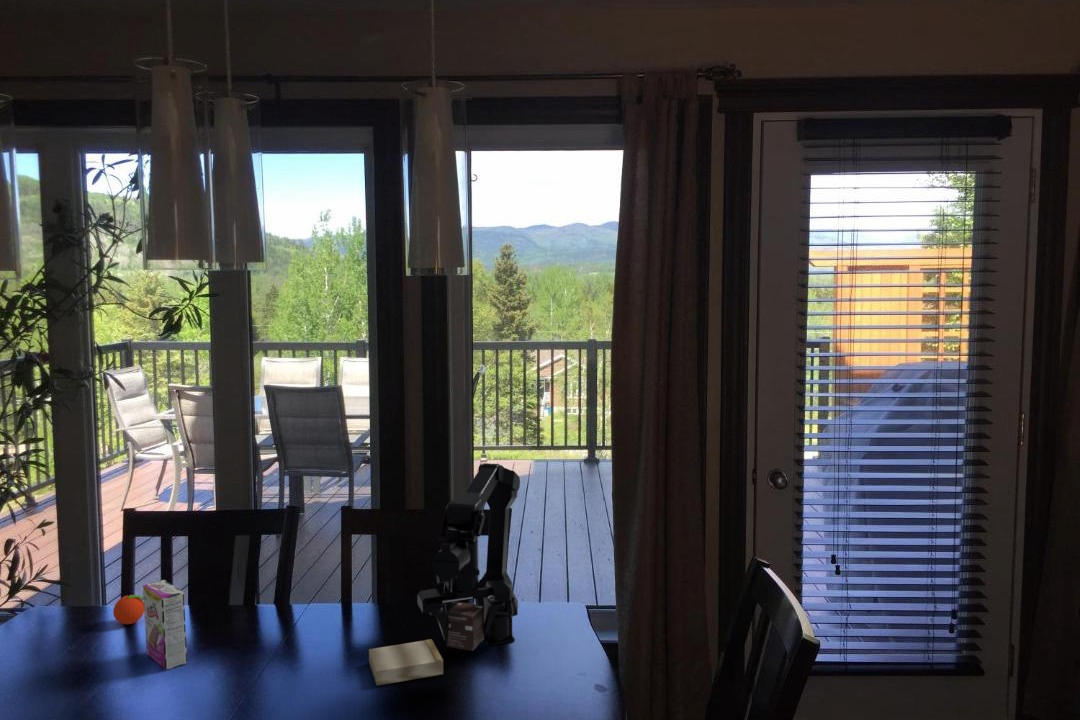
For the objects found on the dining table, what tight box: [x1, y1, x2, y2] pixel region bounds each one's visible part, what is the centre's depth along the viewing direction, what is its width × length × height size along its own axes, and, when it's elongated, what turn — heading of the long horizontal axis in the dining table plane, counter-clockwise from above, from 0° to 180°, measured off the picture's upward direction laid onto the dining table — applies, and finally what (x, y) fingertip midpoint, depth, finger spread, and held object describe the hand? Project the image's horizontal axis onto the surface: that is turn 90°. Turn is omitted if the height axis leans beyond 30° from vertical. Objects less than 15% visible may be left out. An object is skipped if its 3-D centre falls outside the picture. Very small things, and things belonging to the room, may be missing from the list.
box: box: [446, 601, 484, 651], centre depth 161 cm, size 6×6×7 cm
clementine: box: [112, 594, 145, 625], centre depth 192 cm, size 8×7×7 cm
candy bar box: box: [142, 579, 188, 671], centre depth 172 cm, size 11×5×16 cm, turn 47°
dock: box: [368, 638, 444, 686], centre depth 168 cm, size 14×11×3 cm
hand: (465, 635), depth 161 cm, fingers closed on box, 8 cm apart
